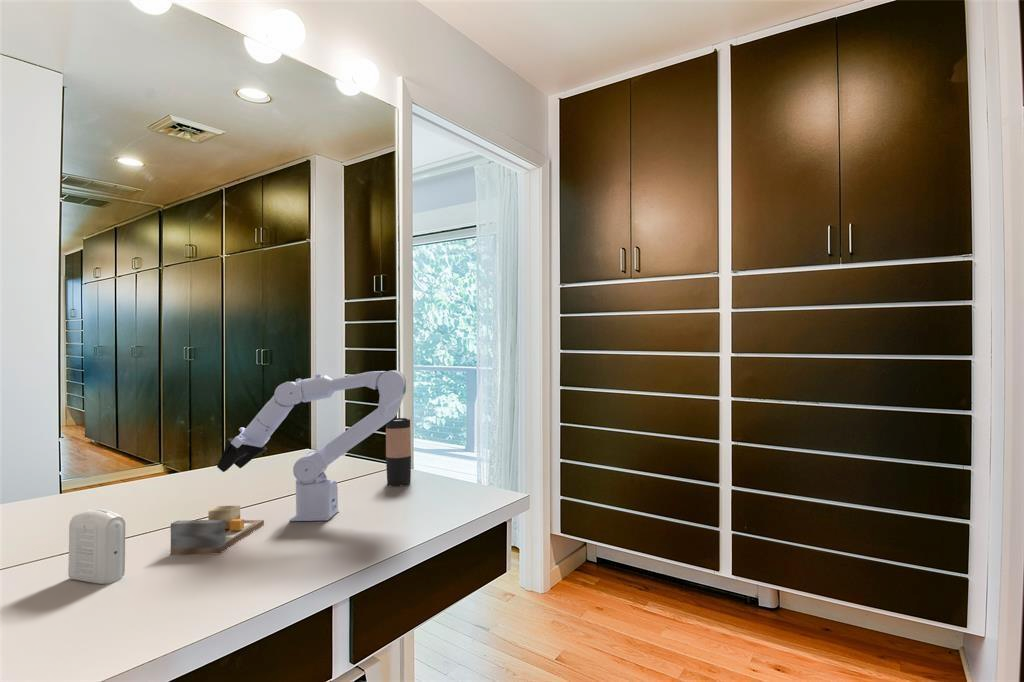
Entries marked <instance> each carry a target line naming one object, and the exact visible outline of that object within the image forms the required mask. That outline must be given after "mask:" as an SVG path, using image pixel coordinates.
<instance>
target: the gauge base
mask: <svg viewBox="0 0 1024 682" xmlns="http://www.w3.org/2000/svg"><path fill="white" fill-rule="evenodd" d="M262 525H263V526H264V525H265V519H250V520H249V519H247V520H246V519H244V528H243V529H242V530H230V529H225V520H208V519H204V520H203V519H200V520H198V519H195V520H194V519H193V520H192V519H191V520H185V519H184V520H175V521H173V522H172V523H170V555H171V554H179V555H211V554H210V553H220V554H221V552H222V551H223V552H225V551H226V550H228V549H229V548H231V547H232V546H234V545H235V544H237V543H239V542H240V541H242V540H243V539H245V538H246V537H248V536H250V535H251V534H252V533H254V532H255V531H254V530H256V529H257V530H258V528H259V527H260V528H262V527H263V526H262ZM261 526H262V527H261ZM260 528H259V529H260ZM257 530H256V531H257ZM253 531H254V532H253ZM251 532H252V533H251ZM250 533H251V534H250ZM247 535H248V536H247ZM244 537H245V538H244ZM242 538H243V539H242ZM241 539H242V540H241ZM239 540H240V541H239ZM238 541H239V542H238ZM236 542H237V543H236ZM234 543H235V544H234ZM233 544H234V545H233ZM231 545H232V546H231ZM230 546H231V547H230ZM228 547H229V548H228ZM227 548H228V549H227ZM225 549H226V550H225ZM224 550H225V551H224ZM223 552H222V553H223Z"/></svg>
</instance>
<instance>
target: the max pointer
mask: <svg viewBox="0 0 1024 682" xmlns="http://www.w3.org/2000/svg"><path fill="white" fill-rule="evenodd" d="M244 520H245V518H240V519H233V520H231V521H230V530H242V529H243V528H244Z"/></svg>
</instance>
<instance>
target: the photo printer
mask: <svg viewBox="0 0 1024 682" xmlns="http://www.w3.org/2000/svg"><path fill="white" fill-rule="evenodd" d="M68 525H69V526H68V529H69V530H68V568H67V571H68V572H67V573H68V574H67V576H68V578H70V579H71V580H76V581H82V582H88V583H92V584H101V585H102V584H105V585H109V584H112V583H115V582H117V581H119V580H122V578H123V577H124V575H125V571H126V569H125V568H126V521H125V519H124V518H123V517H122V516H121V515H120V514H119V513H116V512H113V511H111V510H108V509H103V508H91V509H87V510H83V511H80V512H78V513H76V514H74V516H72V518H71V520H70V522H69V524H68Z"/></svg>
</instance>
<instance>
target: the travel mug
mask: <svg viewBox="0 0 1024 682" xmlns="http://www.w3.org/2000/svg"><path fill="white" fill-rule="evenodd" d="M411 435H412V434H411V418H409V419H408V418H406V417H394V418H393V419H392V420H390V421H389V422H388V423H386V424H385V462H386V463H385V464H386V483H387V486H389V485H391V486H390V487H401V486H400V485H404V486H407V485H406V484H408V485H410V484H411V483H412V482H411V475H412V474H411V473H412V472H411V471H412V447H411V446H412V443H411V442H412V441H411V440H412V439H411ZM409 483H410V484H409Z"/></svg>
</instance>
